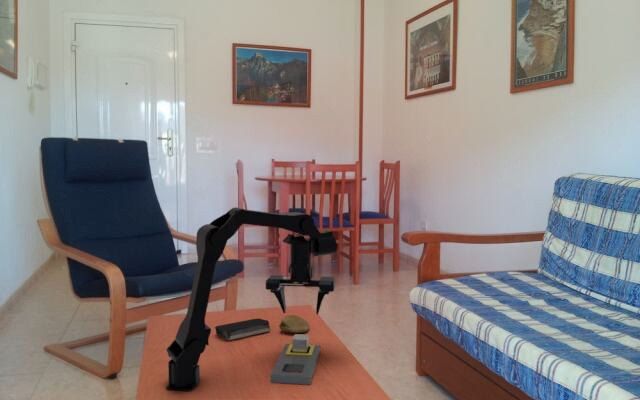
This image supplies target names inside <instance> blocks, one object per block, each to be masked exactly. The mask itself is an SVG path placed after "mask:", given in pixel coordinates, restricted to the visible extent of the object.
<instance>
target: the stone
mask: <svg viewBox="0 0 640 400" xmlns="http://www.w3.org/2000/svg"><path fill="white" fill-rule="evenodd" d="M278 327H279V329H280V330H281V331H282V332H284V333H294V334H300V333H301V334H302V333H306V332H308V331H309V329H310V324H309V322H308V321H307V320H306V319H304V318H303V317H301V316H300V315H295V314H290V315H285V316H283V317H282V318H281V320H280V323H279V325H278Z"/></svg>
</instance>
